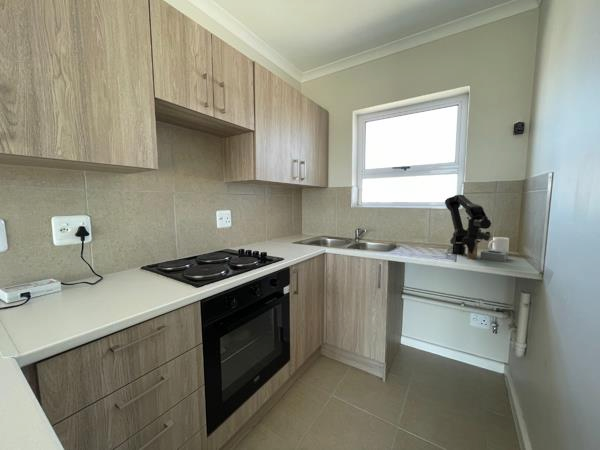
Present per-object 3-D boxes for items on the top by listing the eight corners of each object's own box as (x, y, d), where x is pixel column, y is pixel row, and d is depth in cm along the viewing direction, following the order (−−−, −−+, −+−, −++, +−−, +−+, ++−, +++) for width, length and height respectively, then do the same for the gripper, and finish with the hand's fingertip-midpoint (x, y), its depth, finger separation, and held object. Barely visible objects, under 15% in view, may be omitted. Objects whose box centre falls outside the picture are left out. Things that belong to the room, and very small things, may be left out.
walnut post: (466, 258, 148) (467, 242, 147) (468, 257, 151) (469, 241, 150) (474, 259, 145) (475, 242, 144) (476, 258, 148) (477, 242, 147)
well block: (480, 258, 148) (480, 251, 147) (485, 255, 155) (485, 249, 155) (503, 261, 139) (504, 254, 139) (507, 258, 147) (508, 252, 146)
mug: (492, 254, 157) (493, 239, 156) (483, 252, 165) (484, 237, 164) (511, 254, 157) (512, 238, 156) (501, 252, 165) (502, 237, 164)
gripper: (486, 229, 134) (484, 257, 136) (494, 226, 146) (492, 252, 148) (462, 227, 142) (461, 254, 144) (472, 225, 155) (470, 249, 156)
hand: (472, 252), depth 148 cm, fingers closed on walnut post, 4 cm apart
